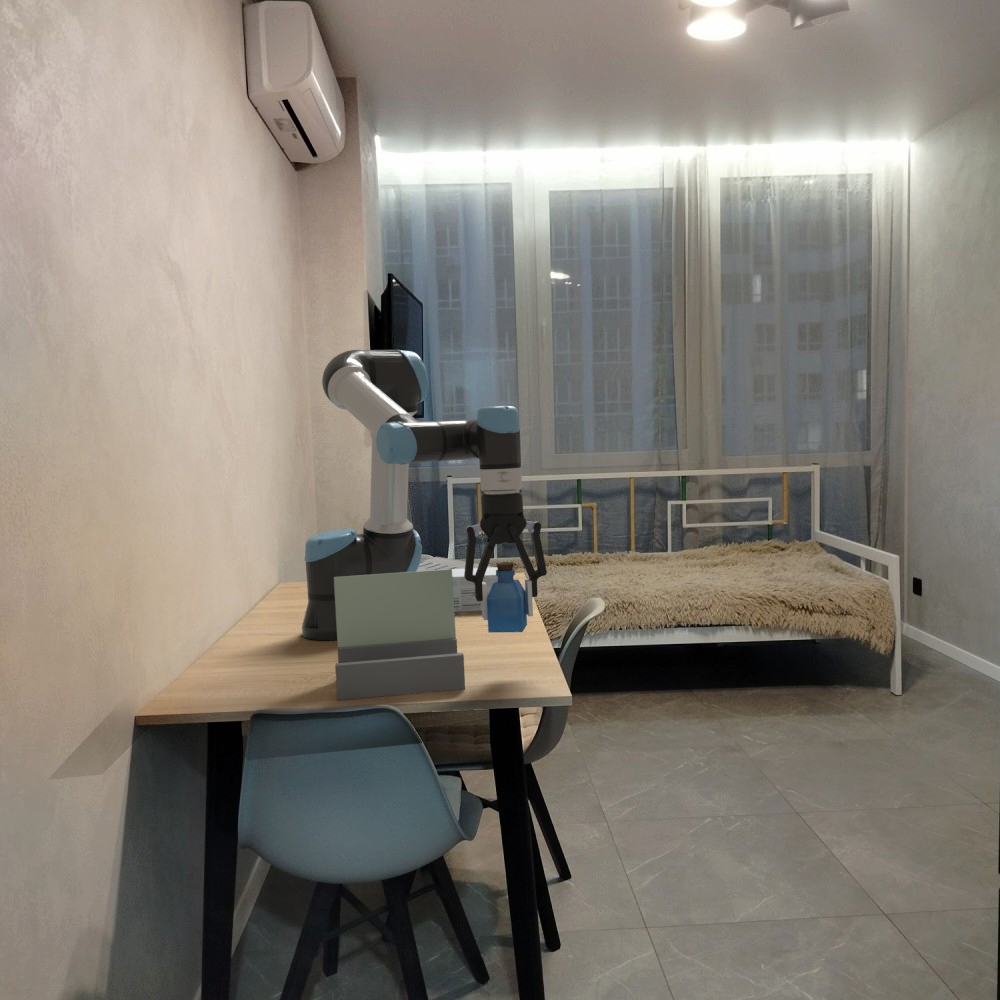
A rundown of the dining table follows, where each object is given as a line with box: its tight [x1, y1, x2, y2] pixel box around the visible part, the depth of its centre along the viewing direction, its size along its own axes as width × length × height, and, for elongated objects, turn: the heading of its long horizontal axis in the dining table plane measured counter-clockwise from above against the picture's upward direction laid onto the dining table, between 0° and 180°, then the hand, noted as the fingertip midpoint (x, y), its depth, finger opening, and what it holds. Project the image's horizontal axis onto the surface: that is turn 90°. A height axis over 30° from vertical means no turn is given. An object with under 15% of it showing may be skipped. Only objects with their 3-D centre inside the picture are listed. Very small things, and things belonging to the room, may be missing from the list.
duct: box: [334, 637, 466, 701], centre depth 155 cm, size 13×22×6 cm, turn 99°
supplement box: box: [443, 566, 498, 613], centre depth 223 cm, size 17×13×9 cm
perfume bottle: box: [487, 561, 528, 634], centre depth 157 cm, size 6×6×12 cm
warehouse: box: [416, 556, 495, 571], centre depth 250 cm, size 30×14×8 cm, turn 36°
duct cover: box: [334, 569, 457, 648], centre depth 162 cm, size 13×22×1 cm
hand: (507, 616), depth 157 cm, fingers closed on perfume bottle, 7 cm apart
